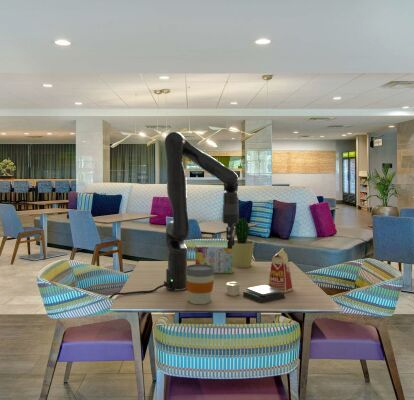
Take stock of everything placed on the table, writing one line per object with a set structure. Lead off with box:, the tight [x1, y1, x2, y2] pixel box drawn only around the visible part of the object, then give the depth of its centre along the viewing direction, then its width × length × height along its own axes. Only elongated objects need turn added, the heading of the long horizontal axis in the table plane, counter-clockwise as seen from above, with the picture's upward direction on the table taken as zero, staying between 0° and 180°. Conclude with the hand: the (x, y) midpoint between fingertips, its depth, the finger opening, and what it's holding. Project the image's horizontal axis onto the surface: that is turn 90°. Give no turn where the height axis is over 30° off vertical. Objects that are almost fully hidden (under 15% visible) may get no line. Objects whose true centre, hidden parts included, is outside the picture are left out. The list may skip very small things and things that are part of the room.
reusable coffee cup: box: [185, 263, 215, 305], centre depth 177 cm, size 13×13×15 cm
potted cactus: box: [233, 217, 255, 269], centre depth 250 cm, size 15×15×30 cm
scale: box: [242, 290, 286, 304], centre depth 183 cm, size 14×12×3 cm
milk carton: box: [268, 247, 294, 293], centre depth 195 cm, size 9×9×20 cm
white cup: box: [225, 281, 241, 297], centre depth 188 cm, size 6×6×5 cm
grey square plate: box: [246, 284, 282, 296], centre depth 183 cm, size 11×11×1 cm
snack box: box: [194, 245, 234, 274], centre depth 232 cm, size 21×6×15 cm, turn 84°
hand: (230, 247), depth 193 cm, fingers open, 8 cm apart
